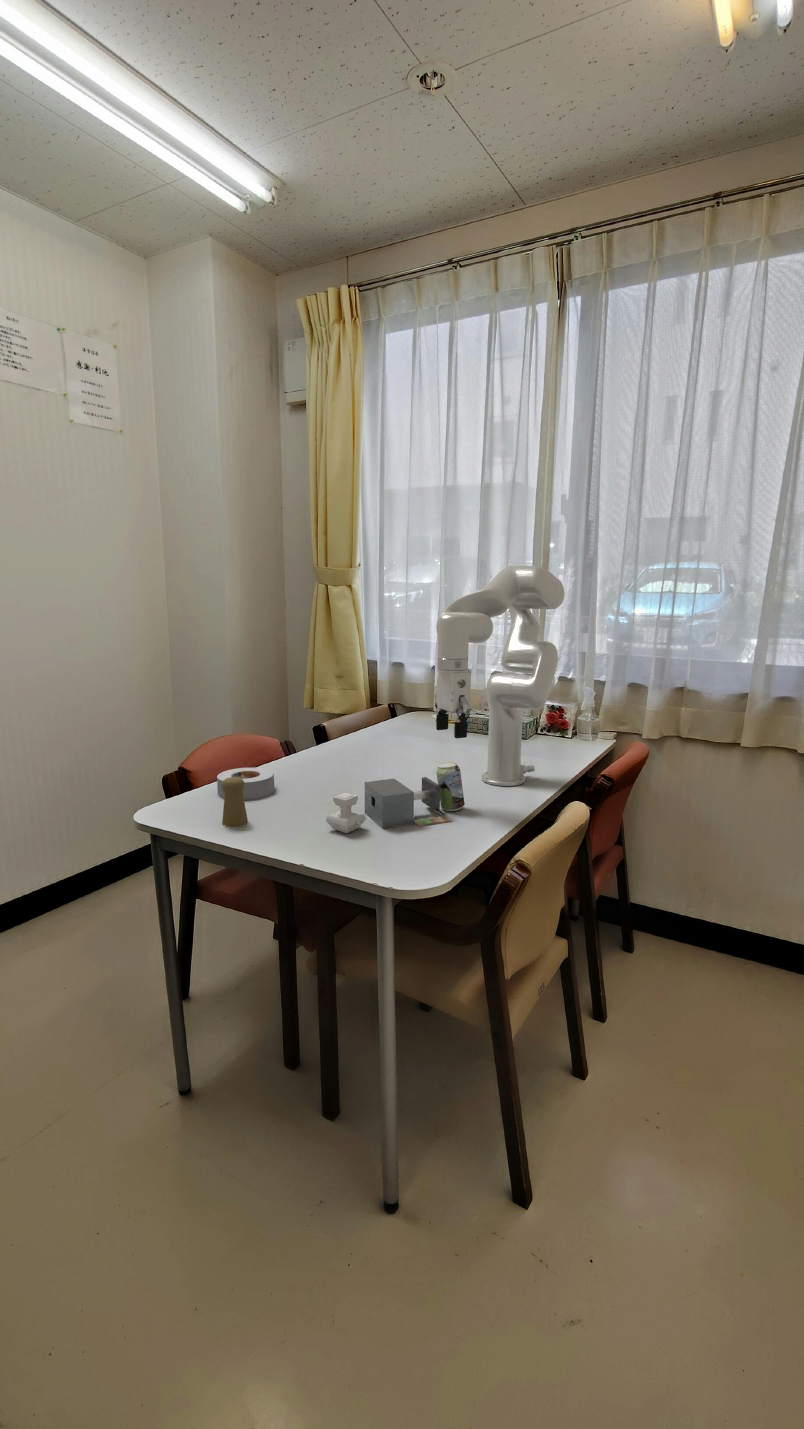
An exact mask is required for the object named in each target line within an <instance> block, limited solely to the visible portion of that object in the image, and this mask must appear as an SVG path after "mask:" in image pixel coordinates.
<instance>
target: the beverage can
mask: <svg viewBox="0 0 804 1429" xmlns="http://www.w3.org/2000/svg"><path fill="white" fill-rule="evenodd" d="M435 772H436V779H437V784H438V785H440V809H443V810H445V811H446V812H453V811H454V812H455V811H459V810H461V809H462V808H463V807H464V806H465V804H466V803H465V795H464V788H463V783H462V782H463V781H462V775H461V774H462V772H461V767H459V765H458V763H457V762H453V761H452V762H444V763H440V764H438V765H437V768H436V771H435Z"/></svg>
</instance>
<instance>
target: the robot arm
mask: <svg viewBox="0 0 804 1429" xmlns="http://www.w3.org/2000/svg"><path fill="white" fill-rule="evenodd" d="M565 595H566V593H565V588H564V585H563V583H562V581H561V580H560V579H559V578H557V576H556V575H554V573H552V572H550V571H549V570H548V569H546V568H544V567H542V566H538V565H514V566H513V565H512V566H507V567H504V568H502V569H501V570H500V571H499V572H498V573H497V574H496V575H495V576H494V577H493V578H492V580H490V582H488V583H487V584H486V585H485V587H484V588H482V589H478V590H476V591H473V592H471V593H469V594H466V595H464V596H461V597H459V598H458V599H456V600H453V601H452V602H451V603H450V604H449V605H447V606H446V608H444V610H443V611H441V613H440V615H439V616H438V619H437V621H436V628H435V629H436V633H437V658H436V660H437V661H436V662H437V663H436V664H437V665H436V666H437V667H436V668H437V669H436V670H437V672H438V673H437V679H436V692H435V694H434V696H433V697H434V698H433V699H434V704H435V705H434V706H435V715H436V716H435V718H436V722H435V727H436V728H435V730H437V731H446V730H448V729H449V713H451V714H453V715H454V718H455V721H454V730H453V734H454V736H453V737H454V738H455V739H464V738H467V737H468V722H469V718H470V716H471V714H470V713H471V710H472V706H471V683H470V675H469V653H470V652H469V650H470V647H469V644H470V643H472V644H482V643H485V642H486V641H487V640H489V639H490V638H491V636H492V634H493V631H494V623H493V620H492V618H496V617H498V616H501V615H503V614H504V613H506V612H507V611H508V613H509V616H510V627H509V632H508V635H507V637H506V641H505V644H504V648H503V651H502V654H501V660H500V661H501V666H502V667H503V669H505V670H506V671H508V672H497V673H494V674H492V675H491V676H490V677H489V678H488V679H487V682H486V687H485V688H486V698H487V704H488V706H487V707H488V738H487V740H488V742H487V743H488V744H487V745H488V746H487V768H486V769H487V771H486V772H484V773H483V774H481V780H482V781H483V782H484V783H485V784H489V785H493V786H498V787H500V786H501V787H514V786H519V785H522V784H524V783H525V782H526V776H525V775H524V774H526V773H534V772H535V766H534V765H532V764H531V765H526V764H521V762H522V741H523V740H522V738H523V737H522V736H523V735H522V734H523V719H522V717H521V714H520V713H519V710H518V709H527V710H535V711H536V710H540V709H542V708H543V707H544V706H545V705H546V703H547V701H548V697H549V695H550V691H551V687H552V685H553V681H554V677H555V673H556V671H557V670H556V669H557V665H558V661H559V660H558V658H559V656H558V649H557V647H556V645H555V644H554V643H552V641H551V642H550V641H546V640H538V638H539V636H540V635H539V634H540V631H541V628H540V624H539V622H538V620H537V618H536V617H535V615H534V614H533V613H532V610H555V609H558V608H559V607H561V605H562V604H563V602H564V599H565ZM517 708H518V709H517ZM448 712H449V713H448Z"/></svg>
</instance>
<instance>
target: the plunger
mask: <svg viewBox="0 0 804 1429" xmlns="http://www.w3.org/2000/svg"><path fill="white" fill-rule="evenodd" d="M413 792H414V801H420V800H421V802H422V803H423V804H424V805H425V806H428V808H430V809H431V810H432V811H434V812H438V814H440V815H441V816H446V815H445V813H444V811H442V810H441V802H440V785H438V783H436V782H435V781H434V780H432V779H430V778H429V777H427V776H424V777H423V776H422V777H421V790H420V791H419V790H418V791H413Z"/></svg>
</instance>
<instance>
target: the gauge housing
mask: <svg viewBox="0 0 804 1429" xmlns="http://www.w3.org/2000/svg"><path fill="white" fill-rule="evenodd" d="M414 792H415V791H413V790H412V789H410V788H409V787H407V786H406V785H404V784H403V783H402V782H400V781H398V780H397V779H396V778H389V779H388V778H387V779H378V780H372V781H364V814H365V815H367V816H368V817H369V818H370V819H371V820H372V821H373V822H374V823H375V824H377V826H379V827H380V828H381V829H382V830H384V829H391V828H396V827H397V828H398V827H404V826H409V825H410V826H411V825H414V824H415V823H414V821H415V820H414V819H415V818H414V817H415V815H414V814H415V811H414V810H415V808H414V807H415V806H414V805H415V800H414Z"/></svg>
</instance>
